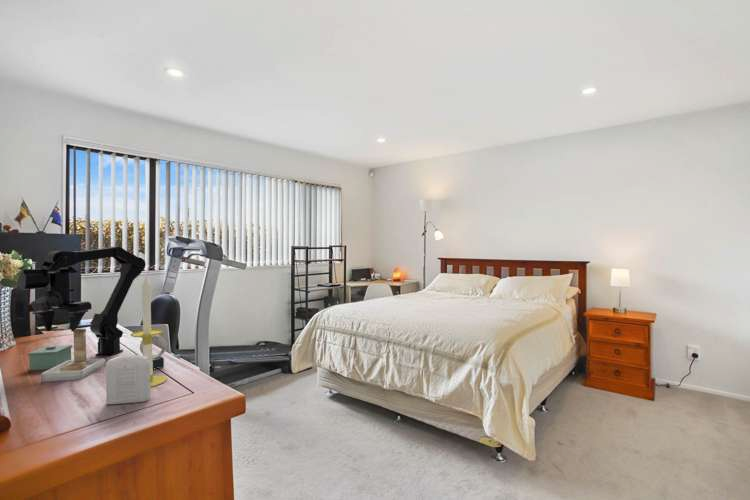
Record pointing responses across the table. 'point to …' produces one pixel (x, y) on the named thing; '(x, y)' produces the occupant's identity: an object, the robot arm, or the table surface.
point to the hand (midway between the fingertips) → (60, 331)
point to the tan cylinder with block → (77, 352)
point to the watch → (157, 359)
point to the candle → (148, 332)
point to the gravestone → (128, 379)
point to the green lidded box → (49, 357)
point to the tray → (56, 375)
